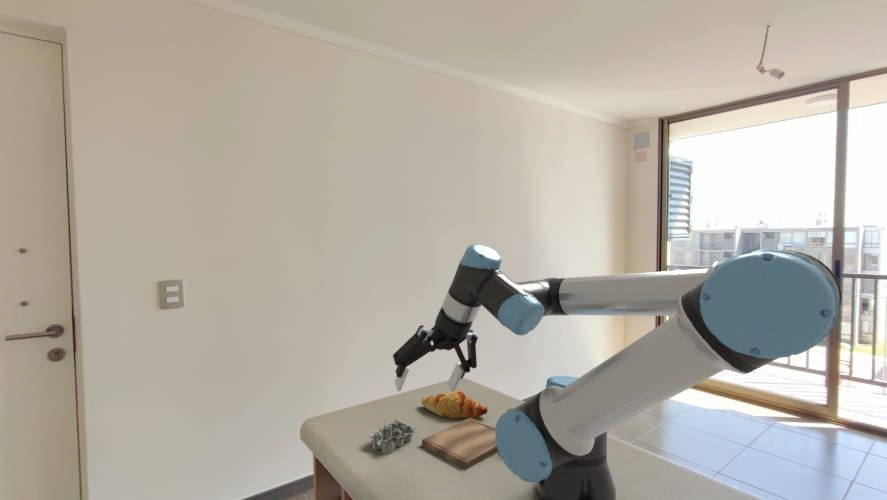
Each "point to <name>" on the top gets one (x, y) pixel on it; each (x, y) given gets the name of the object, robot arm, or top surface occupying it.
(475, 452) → the walnut board
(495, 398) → the top surface
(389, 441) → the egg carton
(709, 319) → the robot arm
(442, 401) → the croissant
